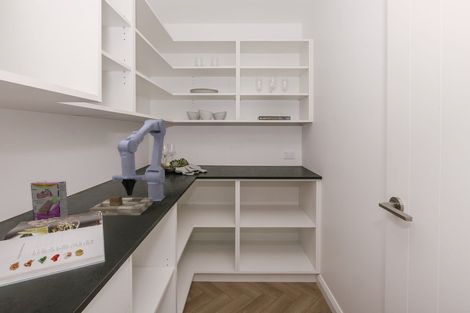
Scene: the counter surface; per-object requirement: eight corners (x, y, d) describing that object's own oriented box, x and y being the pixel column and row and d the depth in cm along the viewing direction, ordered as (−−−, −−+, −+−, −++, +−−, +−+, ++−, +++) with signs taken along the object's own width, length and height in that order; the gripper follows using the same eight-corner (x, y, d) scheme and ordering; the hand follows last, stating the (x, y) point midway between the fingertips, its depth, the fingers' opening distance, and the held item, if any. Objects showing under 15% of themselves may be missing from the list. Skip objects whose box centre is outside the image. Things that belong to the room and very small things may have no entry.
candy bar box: (32, 222, 95) (29, 183, 93) (42, 218, 100) (39, 180, 98) (60, 222, 95) (57, 182, 94) (69, 217, 100) (66, 180, 99)
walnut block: (114, 203, 110) (113, 195, 110) (122, 203, 110) (122, 195, 110) (109, 206, 106) (109, 197, 106) (118, 206, 106) (118, 197, 106)
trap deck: (110, 203, 121) (110, 197, 120) (153, 203, 121) (152, 197, 121) (89, 215, 103) (89, 209, 102) (140, 215, 103) (139, 208, 103)
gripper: (108, 167, 103) (109, 197, 104) (141, 167, 103) (142, 197, 104) (115, 165, 110) (117, 193, 111) (146, 165, 110) (147, 193, 111)
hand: (129, 195), depth 108 cm, fingers closed
